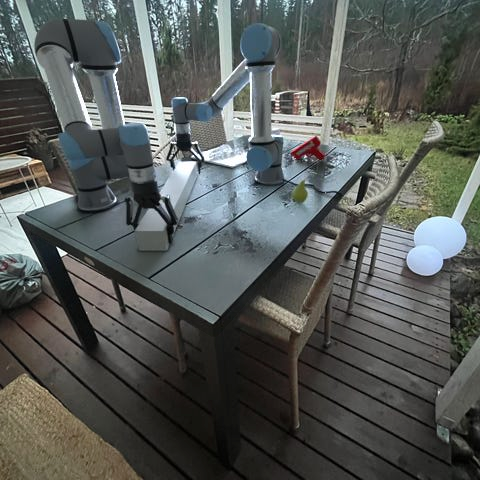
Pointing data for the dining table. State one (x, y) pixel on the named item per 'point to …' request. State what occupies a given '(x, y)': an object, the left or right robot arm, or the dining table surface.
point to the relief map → (225, 156)
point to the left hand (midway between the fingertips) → (156, 241)
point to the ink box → (275, 131)
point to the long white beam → (152, 225)
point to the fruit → (300, 192)
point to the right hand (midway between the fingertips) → (187, 173)
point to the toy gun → (309, 149)
